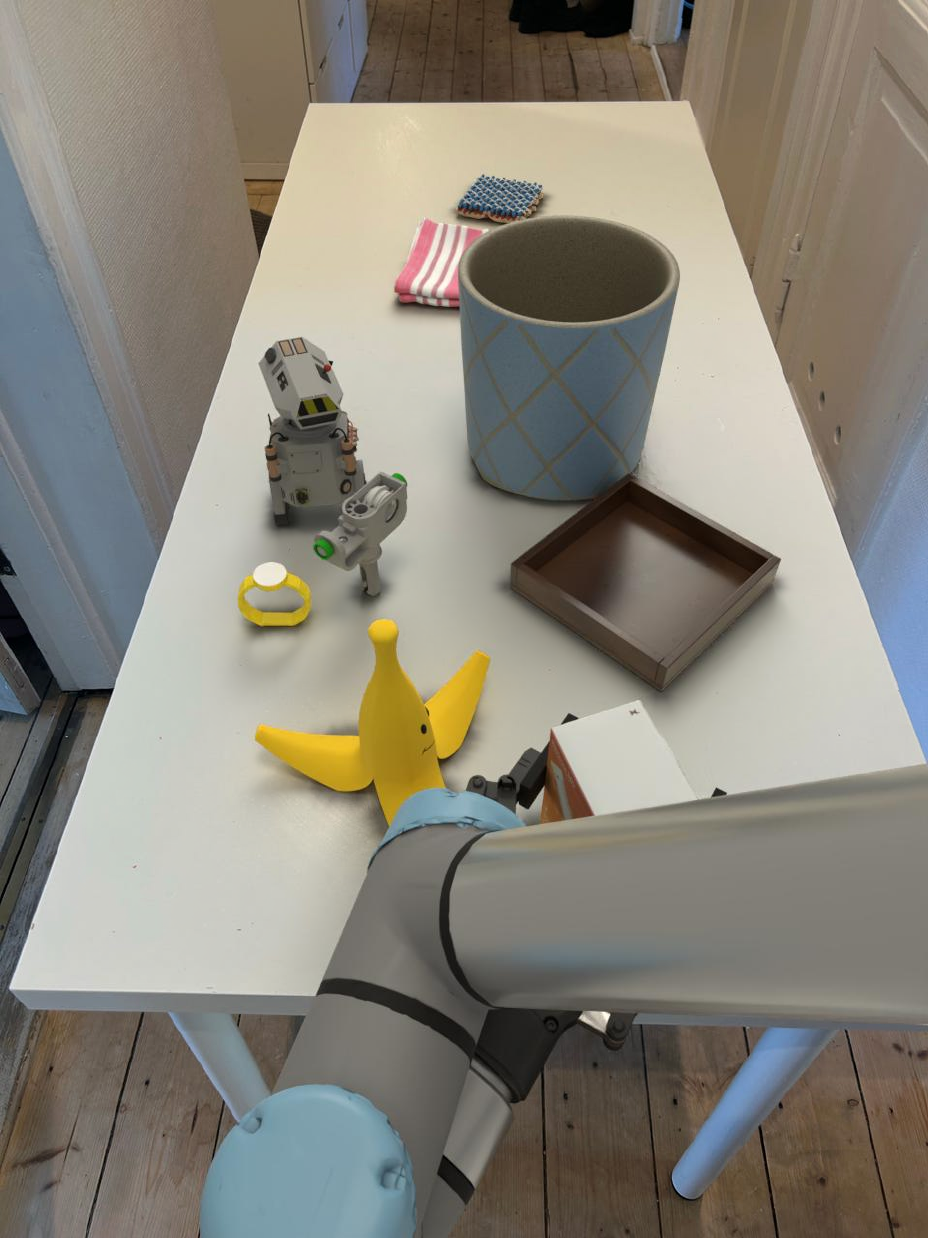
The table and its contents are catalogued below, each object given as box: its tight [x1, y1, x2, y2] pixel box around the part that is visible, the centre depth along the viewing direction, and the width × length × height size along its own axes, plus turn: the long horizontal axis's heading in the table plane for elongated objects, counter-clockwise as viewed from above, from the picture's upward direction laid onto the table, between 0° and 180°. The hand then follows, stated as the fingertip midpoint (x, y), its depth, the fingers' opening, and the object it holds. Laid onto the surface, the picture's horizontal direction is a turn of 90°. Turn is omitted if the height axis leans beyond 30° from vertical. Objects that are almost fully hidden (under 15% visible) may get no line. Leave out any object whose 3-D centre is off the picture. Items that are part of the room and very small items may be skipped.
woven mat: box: [455, 173, 545, 224], centre depth 127 cm, size 10×11×2 cm
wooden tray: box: [509, 473, 782, 692], centre depth 79 cm, size 17×17×3 cm
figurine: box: [258, 336, 368, 526], centre depth 83 cm, size 9×12×15 cm
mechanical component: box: [312, 471, 408, 597], centre depth 76 cm, size 3×10×10 cm, turn 145°
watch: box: [237, 561, 312, 627], centre depth 76 cm, size 6×3×6 cm, turn 93°
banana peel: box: [254, 618, 491, 827], centre depth 62 cm, size 16×19×17 cm
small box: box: [539, 699, 699, 824], centre depth 58 cm, size 8×6×13 cm
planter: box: [458, 214, 681, 501], centre depth 85 cm, size 19×19×20 cm
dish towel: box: [393, 217, 491, 308], centre depth 114 cm, size 17×23×4 cm
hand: (642, 762), depth 60 cm, fingers closed on small box, 10 cm apart
